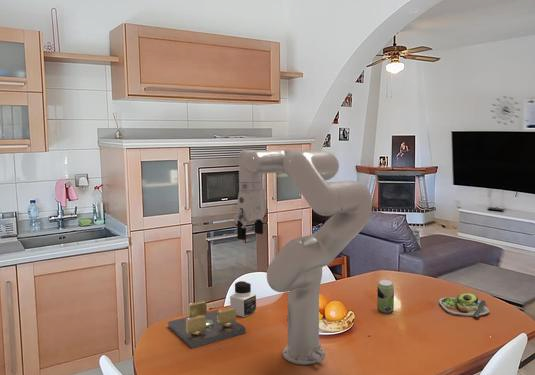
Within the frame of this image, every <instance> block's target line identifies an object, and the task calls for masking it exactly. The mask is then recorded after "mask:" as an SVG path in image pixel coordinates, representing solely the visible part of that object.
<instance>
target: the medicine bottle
mask: <svg viewBox="0 0 535 375" xmlns="http://www.w3.org/2000/svg"><path fill="white" fill-rule="evenodd" d="M251 286H252V283H251V282H250V281H247V280H239V281H238V282H235V283H234V293H233V294H231V295H230V297H229V300H230V302H229V304H230V308H235V309H236V317H237V316H238V317H241V318H247V317H249V316H251V315H253V314H254V313H257V294H256V293H252V287H251Z"/></svg>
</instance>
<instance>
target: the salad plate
mask: <svg viewBox="0 0 535 375" xmlns="http://www.w3.org/2000/svg"><path fill="white" fill-rule="evenodd" d="M438 303H439V304H438V305H440V307H442V309H443V310H444V311H446V312H447V313H449V314H451V315H454V316H458V317H471V318H473V317H475V318H479V317H480V316H484V315H487V314H489V313H490V310H489V308H488V307H487V306H486V300H483V299H481V300H479V297H478V296H477V295H476V294H475V293H473V292H462V293H460V294H458V296H457V297H446V296H445V297H442V298H439V299H438ZM450 309H452V310H450ZM453 310H456V311H453ZM457 311H459V312H457Z"/></svg>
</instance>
